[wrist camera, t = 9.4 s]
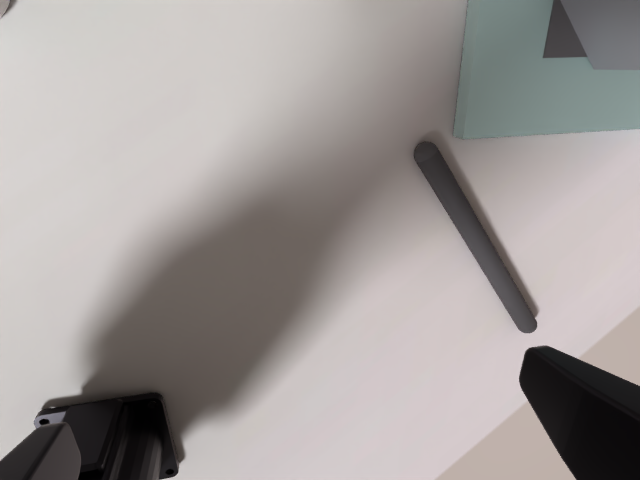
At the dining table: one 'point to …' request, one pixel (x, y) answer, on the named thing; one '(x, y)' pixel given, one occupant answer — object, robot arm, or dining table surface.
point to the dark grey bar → (473, 234)
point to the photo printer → (3, 6)
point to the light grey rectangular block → (607, 31)
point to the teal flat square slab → (535, 76)
